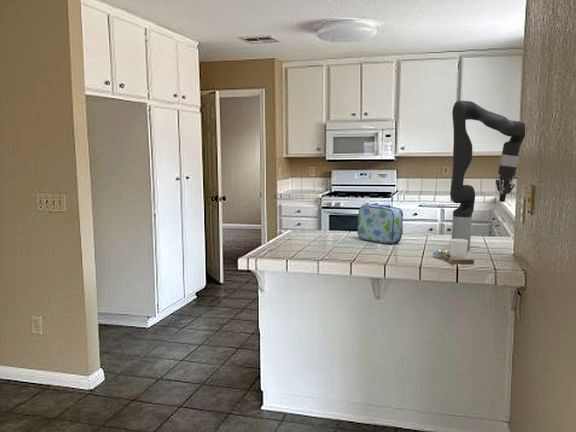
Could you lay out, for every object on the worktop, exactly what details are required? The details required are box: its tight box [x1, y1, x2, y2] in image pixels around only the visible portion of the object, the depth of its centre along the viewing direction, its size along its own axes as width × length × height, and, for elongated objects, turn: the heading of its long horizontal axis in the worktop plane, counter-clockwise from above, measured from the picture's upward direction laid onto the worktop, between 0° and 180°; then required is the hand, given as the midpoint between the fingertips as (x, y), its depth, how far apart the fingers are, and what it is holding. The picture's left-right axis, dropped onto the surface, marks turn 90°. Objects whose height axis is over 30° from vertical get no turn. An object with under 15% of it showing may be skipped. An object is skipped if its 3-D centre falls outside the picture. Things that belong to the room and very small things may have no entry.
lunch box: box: [357, 203, 404, 245], centre depth 288 cm, size 26×11×21 cm, turn 42°
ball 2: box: [442, 249, 450, 254], centre depth 247 cm, size 3×3×3 cm
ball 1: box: [435, 249, 444, 254], centre depth 248 cm, size 3×3×3 cm
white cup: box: [449, 238, 468, 260], centre depth 239 cm, size 8×8×10 cm
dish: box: [432, 251, 450, 260], centre depth 248 cm, size 7×7×2 cm
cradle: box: [441, 255, 475, 266], centre depth 239 cm, size 12×10×2 cm
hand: (501, 201), depth 243 cm, fingers closed
